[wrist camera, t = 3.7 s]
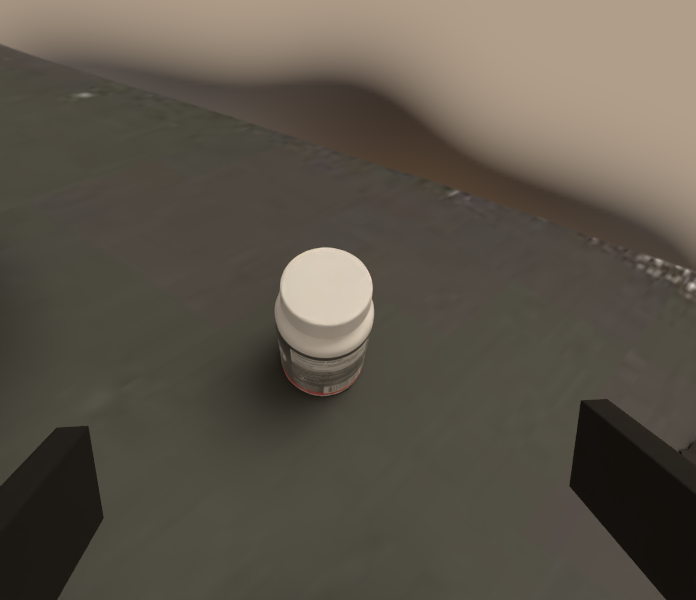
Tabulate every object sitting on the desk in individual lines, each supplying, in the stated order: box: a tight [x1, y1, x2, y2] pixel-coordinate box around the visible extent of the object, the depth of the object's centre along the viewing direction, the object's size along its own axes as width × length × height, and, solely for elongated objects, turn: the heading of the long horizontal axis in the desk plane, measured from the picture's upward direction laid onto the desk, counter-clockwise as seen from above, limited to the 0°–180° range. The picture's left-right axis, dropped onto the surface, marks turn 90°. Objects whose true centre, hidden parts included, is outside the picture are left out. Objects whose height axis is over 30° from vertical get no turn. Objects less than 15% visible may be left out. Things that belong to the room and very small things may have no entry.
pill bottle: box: [275, 248, 374, 396], centre depth 24 cm, size 5×5×8 cm
